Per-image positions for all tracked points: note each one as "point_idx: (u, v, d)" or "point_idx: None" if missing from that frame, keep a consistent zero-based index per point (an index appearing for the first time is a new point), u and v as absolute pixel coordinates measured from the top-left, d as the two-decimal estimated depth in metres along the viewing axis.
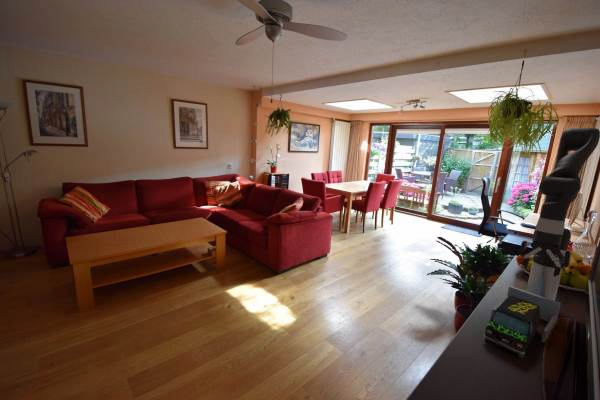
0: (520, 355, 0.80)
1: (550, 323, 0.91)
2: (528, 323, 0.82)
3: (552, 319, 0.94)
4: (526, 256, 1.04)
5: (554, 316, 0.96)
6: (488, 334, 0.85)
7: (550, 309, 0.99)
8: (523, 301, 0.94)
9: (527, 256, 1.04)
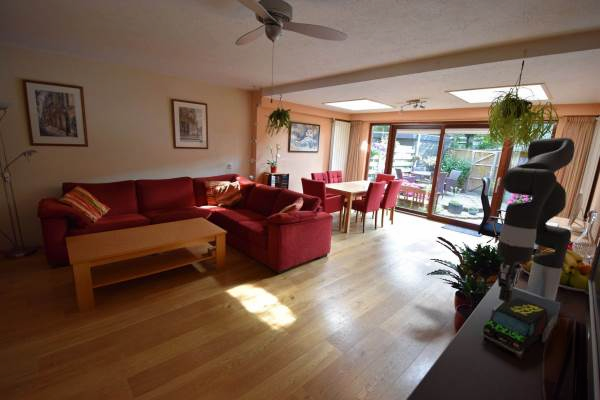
0: (517, 355, 0.80)
1: (550, 323, 0.91)
2: (528, 324, 0.82)
3: (552, 319, 0.94)
4: (511, 287, 0.73)
5: (554, 316, 0.96)
6: (486, 333, 0.86)
7: (550, 309, 0.99)
8: (529, 304, 0.93)
9: (512, 286, 0.74)
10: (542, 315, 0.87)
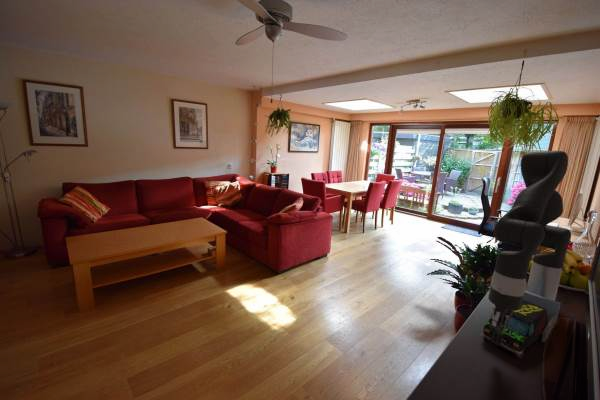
0: (517, 355, 0.80)
1: (550, 323, 0.91)
2: (528, 324, 0.82)
3: (552, 319, 0.94)
4: (503, 331, 0.76)
5: (554, 316, 0.96)
6: (486, 333, 0.86)
7: (550, 309, 0.99)
8: (529, 304, 0.93)
9: (503, 331, 0.76)
10: (542, 315, 0.87)
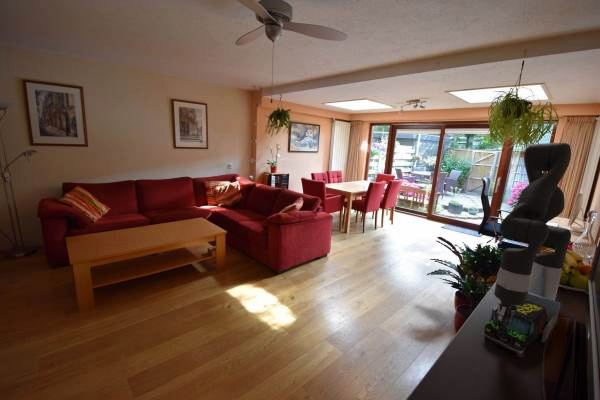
0: (518, 354, 0.80)
1: (550, 323, 0.91)
2: (528, 323, 0.82)
3: (552, 319, 0.94)
4: (508, 326, 0.79)
5: (554, 316, 0.96)
6: (487, 332, 0.86)
7: (550, 309, 0.99)
8: (529, 303, 0.93)
9: (508, 325, 0.79)
10: (542, 314, 0.88)
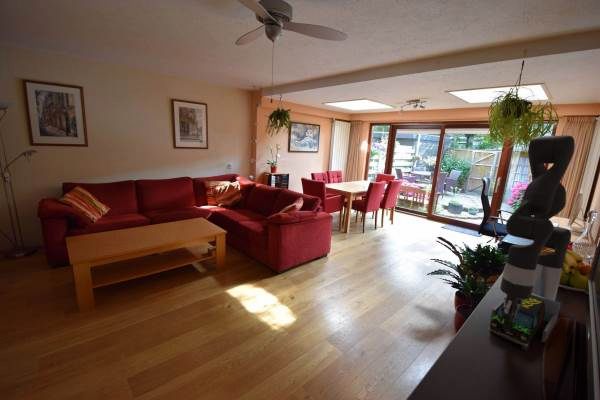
0: (524, 347, 0.83)
1: (550, 323, 0.91)
2: (532, 317, 0.85)
3: (552, 319, 0.94)
4: (514, 319, 0.82)
5: (554, 316, 0.96)
6: (493, 327, 0.89)
7: (550, 309, 0.99)
8: None
9: (514, 318, 0.82)
10: (541, 307, 0.92)
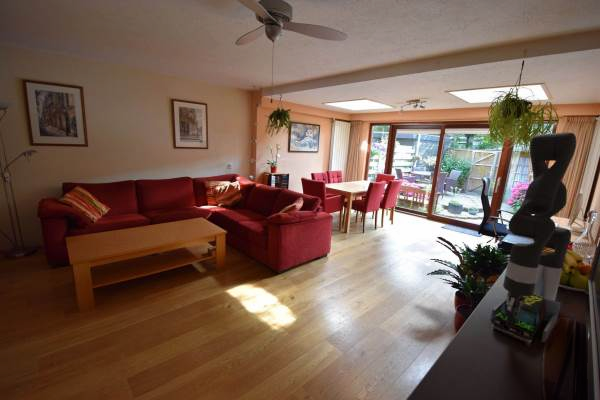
0: (527, 343, 0.85)
1: (550, 323, 0.91)
2: (534, 314, 0.88)
3: (552, 319, 0.94)
4: (516, 316, 0.84)
5: (554, 316, 0.96)
6: (496, 324, 0.91)
7: (550, 309, 0.99)
8: None
9: (517, 315, 0.84)
10: (543, 304, 0.94)
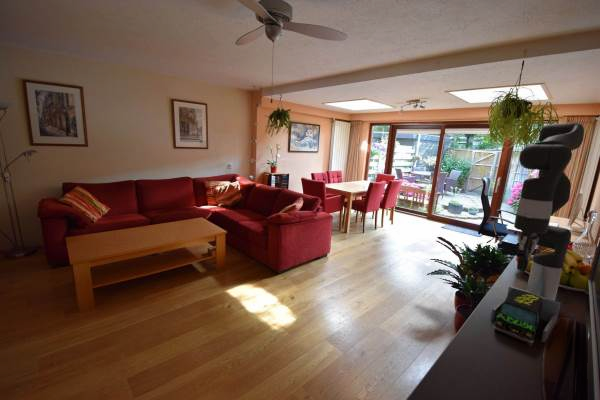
0: (529, 344, 0.85)
1: (550, 323, 0.91)
2: (535, 313, 0.88)
3: (552, 319, 0.94)
4: (529, 257, 0.78)
5: (554, 316, 0.96)
6: (498, 325, 0.90)
7: (550, 309, 0.99)
8: (526, 293, 1.00)
9: (529, 256, 0.78)
10: (540, 303, 0.95)
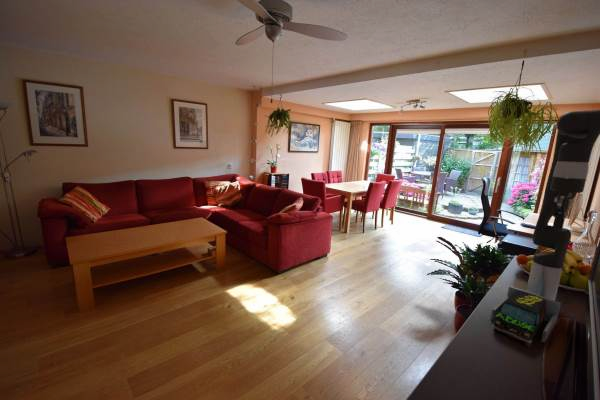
0: (527, 344, 0.85)
1: (550, 323, 0.91)
2: (535, 314, 0.87)
3: (552, 319, 0.94)
4: (565, 216, 0.85)
5: (554, 316, 0.96)
6: (497, 324, 0.90)
7: (550, 309, 0.99)
8: (530, 294, 0.99)
9: (565, 216, 0.85)
10: (543, 304, 0.94)
